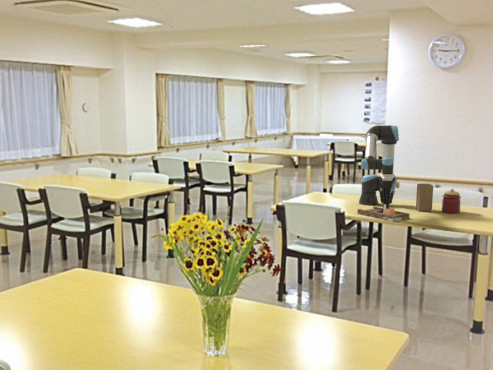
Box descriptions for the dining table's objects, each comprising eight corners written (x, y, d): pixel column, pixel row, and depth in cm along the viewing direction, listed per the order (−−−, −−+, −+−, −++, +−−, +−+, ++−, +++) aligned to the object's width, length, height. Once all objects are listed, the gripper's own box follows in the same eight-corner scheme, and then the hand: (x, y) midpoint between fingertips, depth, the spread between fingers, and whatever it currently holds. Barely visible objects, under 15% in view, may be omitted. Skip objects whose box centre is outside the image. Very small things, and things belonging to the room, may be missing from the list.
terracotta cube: (384, 216, 370) (384, 209, 370) (389, 215, 373) (388, 208, 373) (390, 216, 366) (389, 209, 366) (395, 215, 369) (394, 208, 369)
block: (428, 209, 406) (430, 183, 403) (432, 212, 396) (433, 185, 393) (415, 209, 407) (416, 183, 404) (418, 211, 397) (419, 185, 394)
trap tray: (357, 213, 388) (357, 209, 388) (373, 211, 399) (374, 206, 398) (392, 221, 362) (392, 216, 362) (409, 218, 373) (409, 213, 372)
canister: (447, 214, 389) (449, 190, 386) (438, 210, 402) (439, 187, 399) (463, 213, 391) (465, 189, 389) (453, 210, 404) (455, 187, 401)
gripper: (376, 179, 373) (374, 212, 376) (391, 181, 362) (389, 215, 365) (383, 178, 377) (381, 211, 380) (398, 180, 366) (396, 214, 370)
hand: (385, 213), depth 373 cm, fingers closed
